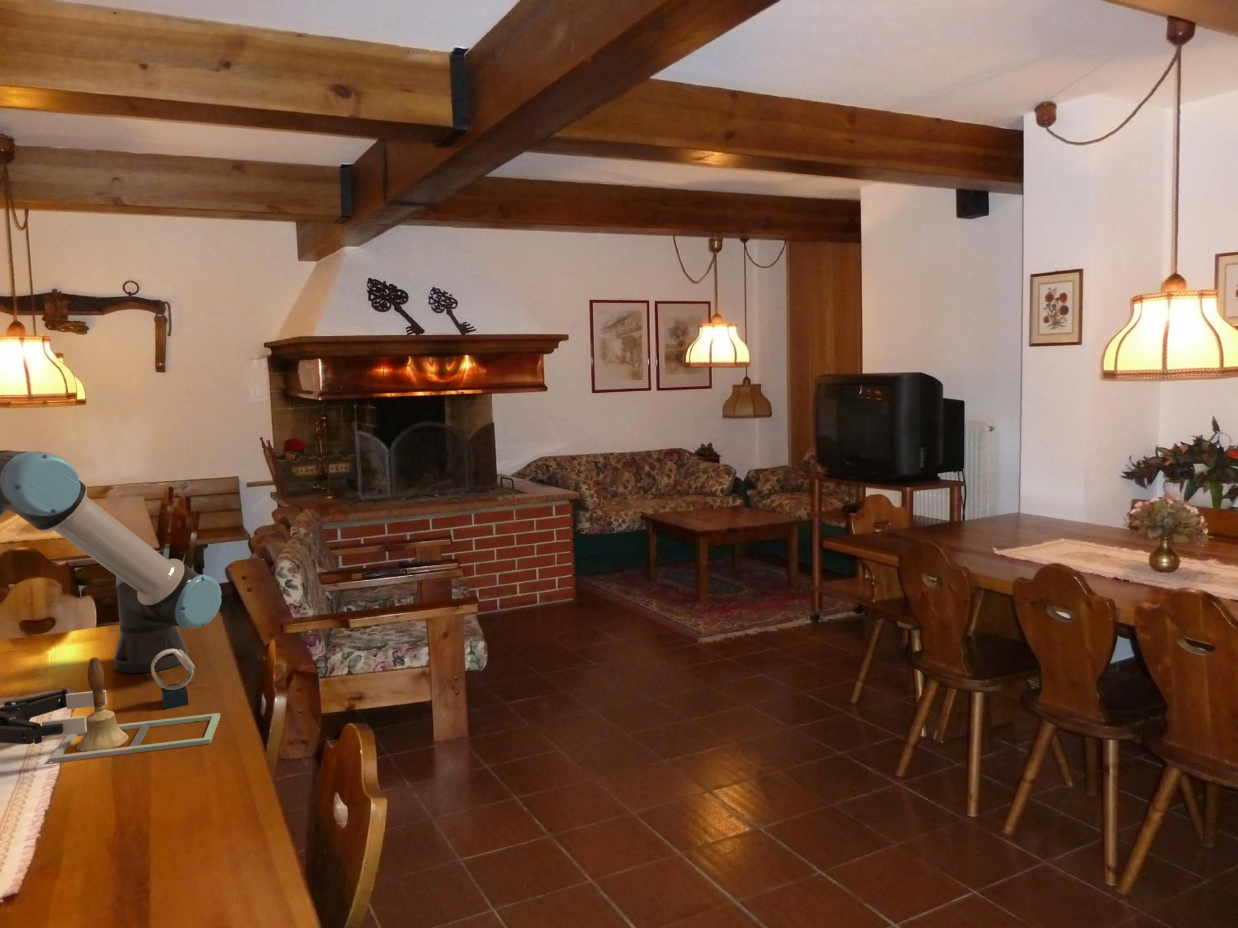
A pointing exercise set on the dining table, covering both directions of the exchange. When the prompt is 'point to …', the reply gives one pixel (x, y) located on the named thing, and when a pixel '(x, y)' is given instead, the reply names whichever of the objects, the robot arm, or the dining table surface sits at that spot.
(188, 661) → the watch
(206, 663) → the dining table surface
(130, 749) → the window frame
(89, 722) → the hand bell
